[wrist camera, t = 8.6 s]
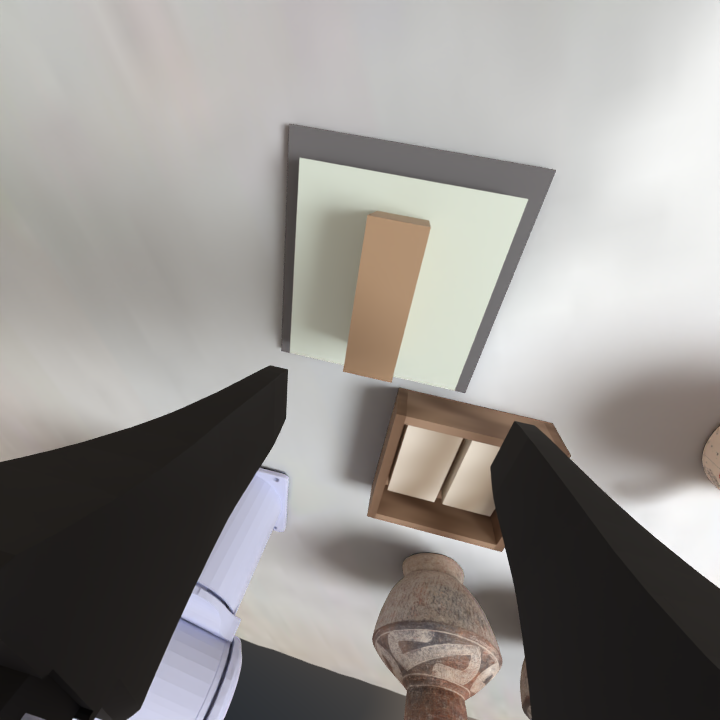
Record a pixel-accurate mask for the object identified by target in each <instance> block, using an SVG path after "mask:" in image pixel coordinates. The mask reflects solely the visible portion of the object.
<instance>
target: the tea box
mask: <svg viewBox="0 0 720 720" xmlns="http://www.w3.org/2000/svg"><path fill="white" fill-rule="evenodd" d="M514 421H518V422H522V423H527V424H531V425H535V426H536V427H537V428H539V429H540V430H541V431H542V432H543V433H544V434H545V435H546V436H547V437H548V438H549V439H550V440H552V441H553V442H554V443H555V444H556V445H557V446H558V447H559V448H560V449H561V450H562V451H563V452H564V453H565V454H566V455H567V456H568V457H569V458H570V457H571V455H570V453H569V451H568V450H567V448H566V446H565V444H564V442H563V441H562V439H561V437H560V435H559V434H558V432H557V430H556V428H555V426H554V425H553V423H549V422H545V421H540V420H536V419H532V418H528V417H523V416H519V415H515V414H510V413H506V412H502V411H498V410H493V409H489V408H485V407H481V406H476V405H472V404H468V403H463V402H459V401H455V400H451V399H446V398H442V397H438V396H434V395H429V394H425V393H421V392H417V391H412V390H408V389H404V388H399V390H398V394H397V397H396V401H395V404H394V408H393V412H392V415H391V419H390V422H389V426H388V430H387V433H386V437H385V441H384V444H383V448H382V451H381V455H380V459H379V462H378V466H377V470H376V473H375V477H374V480H373V484H372V489H371V495H370V501H369V507H368V513H367V516H368V517H372V518H376V519H380V520H383V521H387V522H391V523H395V524H398V525H402V526H406V527H410V528H414V529H417V530H421V531H425V532H429V533H432V534H436V535H440V536H444V537H448V538H451V539H455V540H459V541H463V542H466V543H470V544H474V545H478V546H481V547H485V548H489V549H493V550H497V551H500V552H502V551H503V549H504V548H505V545H504V541H503V537H502V533H501V529H500V525H499V521H498V517H497V512H496V508H495V504H494V499H493V492H492V483H491V471H490V466H491V464H492V462H493V461H494V459H495V457H496V455H497V453H498V451H499V449H500V447H501V445H502V443H503V441H504V440H505V438H506V436H507V434H508V432H509V430H510V428H511V426H512V424H513V422H514Z"/></svg>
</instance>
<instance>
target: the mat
mask: <svg viewBox="0 0 720 720" xmlns="http://www.w3.org/2000/svg"><path fill="white" fill-rule="evenodd" d="M300 158H305V159H310V160H316V161H321V162H327V163H332V164H338V165H343V166H349V167H354V168H360V169H365V170H371V171H376V172H382V173H387V174H393V175H398V176H404V177H409V178H415V179H420V180H426V181H431V182H437V183H443V184H448V185H454V186H459V187H465V188H470V189H476V190H481V191H487V192H492V193H498V194H503V195H509V196H514V197H520V198H525V199H528V202H527V204H526V207H525V209H524V212H523V215H522V217H521V220H520V222H519V225H518V228H517V230H516V233H515V235H514V238H513V241H512V243H511V246H510V248H509V251H508V253H507V256H506V259H505V261H504V264H503V266H502V269H501V272H500V274H499V277H498V279H497V282H496V285H495V287H494V290H493V292H492V295H491V298H490V300H489V303H488V305H487V308H486V310H485V313H484V316H483V318H482V321H481V323H480V326H479V329H478V331H477V334H476V336H475V339H474V342H473V344H472V347H471V349H470V352H469V355H468V357H467V360H466V362H465V365H464V367H463V370H462V373H461V375H460V378H459V380H458V383H457V386H456V388H455V391H458V392H462V393H465V392H466V389H467V387H468V385H469V382H470V380H471V377H472V375H473V372H474V370H475V367H476V365H477V363H478V360H479V358H480V355H481V353H482V350H483V348H484V345H485V343H486V341H487V338H488V336H489V333H490V331H491V328H492V326H493V323H494V321H495V319H496V316H497V314H498V311H499V309H500V306H501V304H502V301H503V299H504V297H505V294H506V292H507V289H508V287H509V284H510V282H511V279H512V277H513V275H514V272H515V270H516V267H517V265H518V262H519V260H520V257H521V255H522V253H523V250H524V248H525V245H526V243H527V240H528V238H529V235H530V233H531V231H532V228H533V226H534V223H535V221H536V218H537V216H538V213H539V211H540V209H541V206H542V204H543V201H544V199H545V196H546V194H547V191H548V189H549V187H550V184H551V182H552V179H553V177H554V174H555V172H556V170H553V169H547V168H542V167H536V166H530V165H524V164H518V163H513V162H507V161H501V160H495V159H490V158H484V157H478V156H472V155H467V154H461V153H455V152H449V151H444V150H438V149H432V148H426V147H421V146H415V145H409V144H403V143H398V142H392V141H386V140H380V139H375V138H369V137H363V136H357V135H351V134H346V133H340V132H334V131H328V130H323V129H317V128H311V127H305V126H300V125H294V124H289V145H288V174H287V203H286V232H285V261H284V290H283V319H282V348H281V351H284V352H288V353H290V339H291V319H292V299H293V279H294V259H295V239H296V219H297V199H298V180H299V160H300Z"/></svg>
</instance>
